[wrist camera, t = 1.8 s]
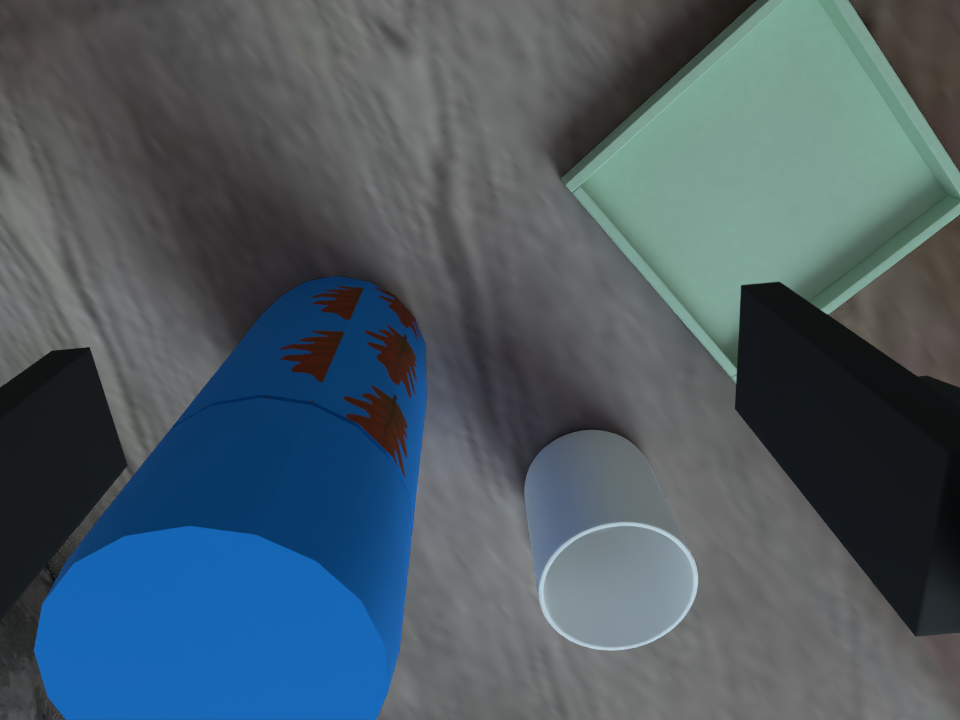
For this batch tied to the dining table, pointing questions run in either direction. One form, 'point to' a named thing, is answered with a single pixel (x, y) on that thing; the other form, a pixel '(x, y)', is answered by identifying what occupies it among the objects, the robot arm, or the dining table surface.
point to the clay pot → (24, 656)
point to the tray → (770, 170)
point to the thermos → (258, 532)
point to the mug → (605, 543)
